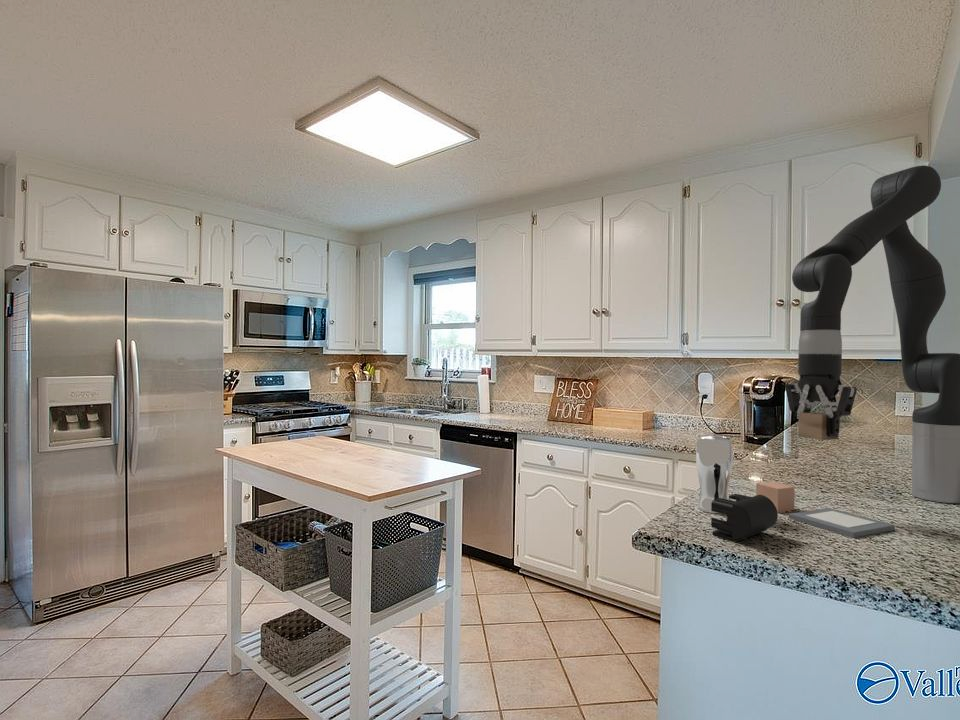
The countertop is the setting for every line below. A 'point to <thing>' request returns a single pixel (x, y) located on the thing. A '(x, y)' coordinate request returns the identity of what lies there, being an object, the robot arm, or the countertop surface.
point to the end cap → (743, 516)
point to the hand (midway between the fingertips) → (818, 434)
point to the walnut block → (814, 426)
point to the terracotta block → (778, 495)
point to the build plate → (842, 522)
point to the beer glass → (713, 469)
